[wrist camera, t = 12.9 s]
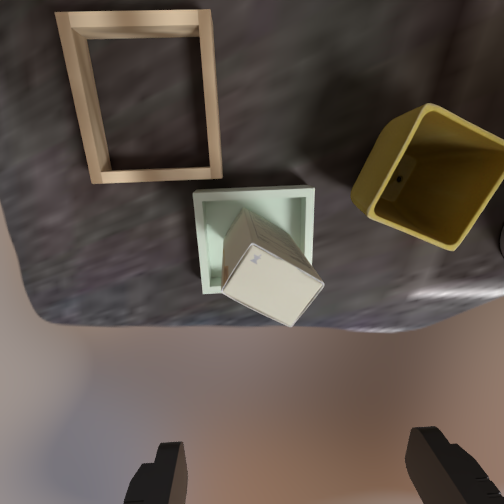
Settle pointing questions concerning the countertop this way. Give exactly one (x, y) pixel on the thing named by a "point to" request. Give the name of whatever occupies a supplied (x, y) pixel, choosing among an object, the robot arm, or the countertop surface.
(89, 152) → the frame
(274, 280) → the skincare box
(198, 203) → the parts tray
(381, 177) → the flower pot
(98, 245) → the countertop surface
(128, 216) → the countertop surface
